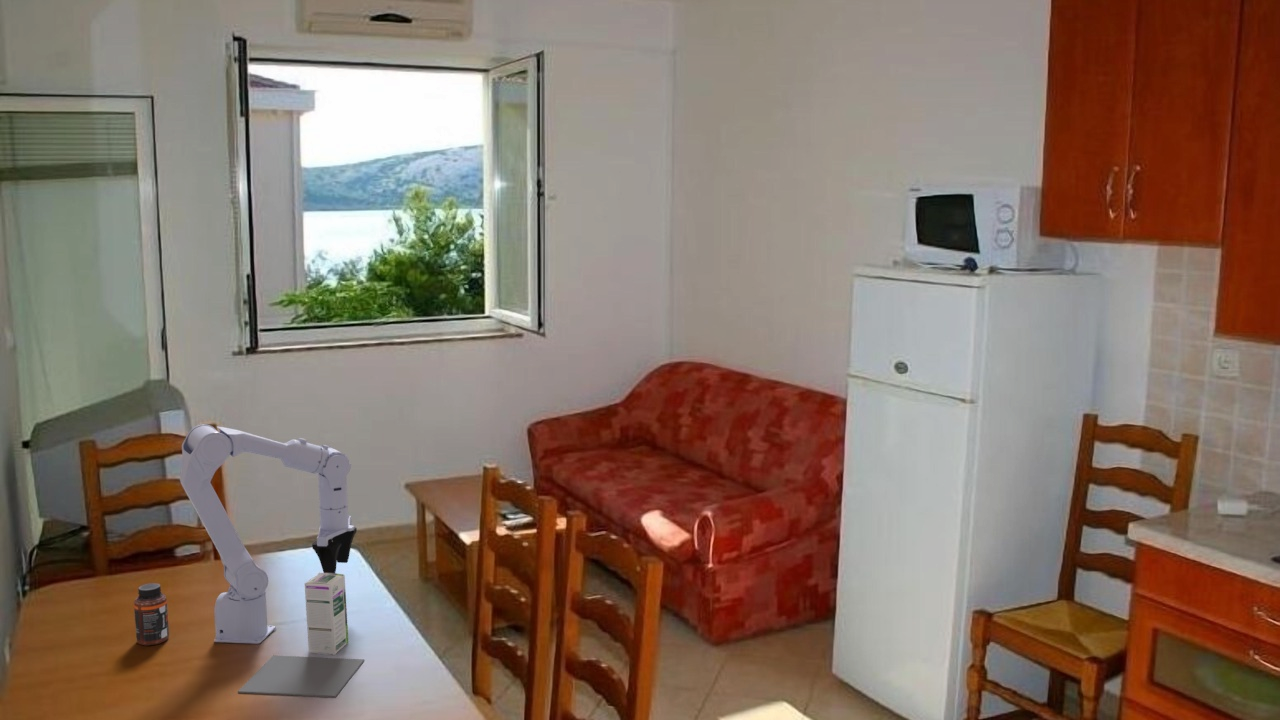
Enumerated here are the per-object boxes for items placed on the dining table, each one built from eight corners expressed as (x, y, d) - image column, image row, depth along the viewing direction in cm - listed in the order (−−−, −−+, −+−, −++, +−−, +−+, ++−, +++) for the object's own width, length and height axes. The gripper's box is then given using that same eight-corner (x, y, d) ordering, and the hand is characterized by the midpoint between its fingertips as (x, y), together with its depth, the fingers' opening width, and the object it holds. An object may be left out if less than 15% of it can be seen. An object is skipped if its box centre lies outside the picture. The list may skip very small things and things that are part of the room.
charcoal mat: (237, 692, 191) (237, 691, 191) (273, 656, 206) (273, 655, 206) (335, 697, 189) (335, 695, 189) (364, 660, 204) (364, 659, 204)
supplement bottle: (174, 640, 213) (171, 586, 211) (144, 649, 209) (140, 594, 207) (161, 631, 217) (158, 578, 215) (131, 640, 213) (127, 586, 211)
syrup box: (335, 655, 206) (332, 583, 204) (307, 652, 208) (303, 581, 205) (348, 643, 212) (346, 573, 210) (321, 640, 213) (318, 571, 211)
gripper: (339, 516, 215) (342, 581, 217) (364, 496, 229) (366, 557, 231) (305, 515, 215) (308, 580, 217) (332, 495, 229) (334, 556, 232)
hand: (336, 568), depth 224 cm, fingers open, 7 cm apart
